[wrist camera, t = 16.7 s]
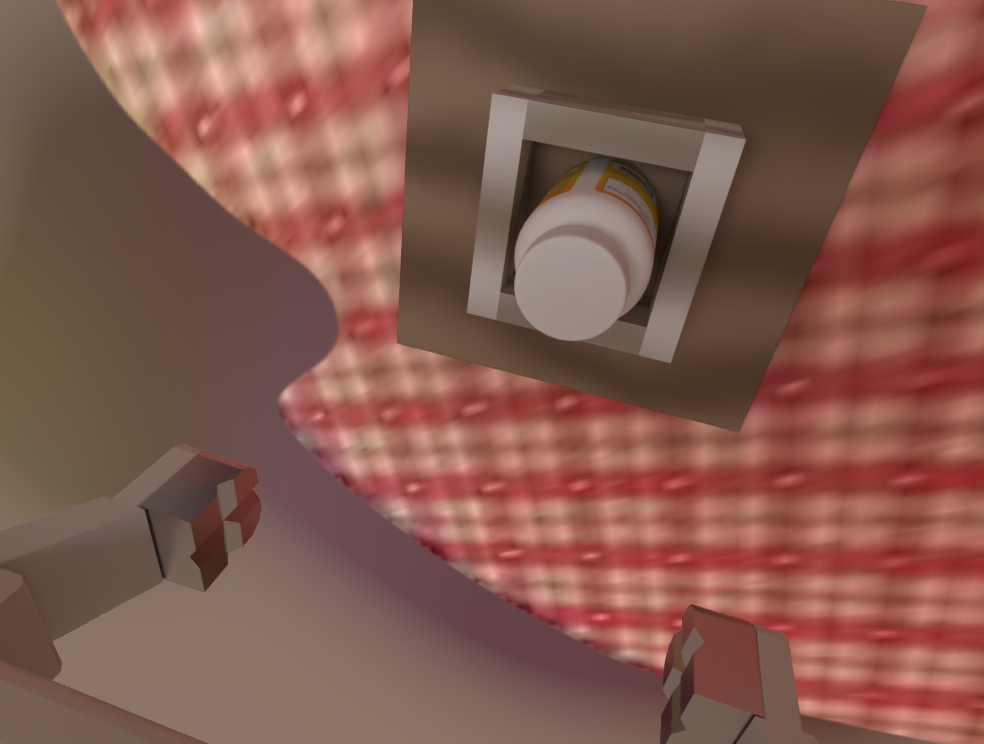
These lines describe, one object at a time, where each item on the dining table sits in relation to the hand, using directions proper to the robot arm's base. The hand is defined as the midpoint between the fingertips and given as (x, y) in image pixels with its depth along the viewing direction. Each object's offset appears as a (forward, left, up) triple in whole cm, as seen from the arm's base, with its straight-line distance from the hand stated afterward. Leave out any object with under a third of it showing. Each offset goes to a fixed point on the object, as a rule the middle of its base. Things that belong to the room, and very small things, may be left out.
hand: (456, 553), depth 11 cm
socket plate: (0, 0, -23) cm, 23 cm away
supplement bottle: (0, 0, -22) cm, 22 cm away
